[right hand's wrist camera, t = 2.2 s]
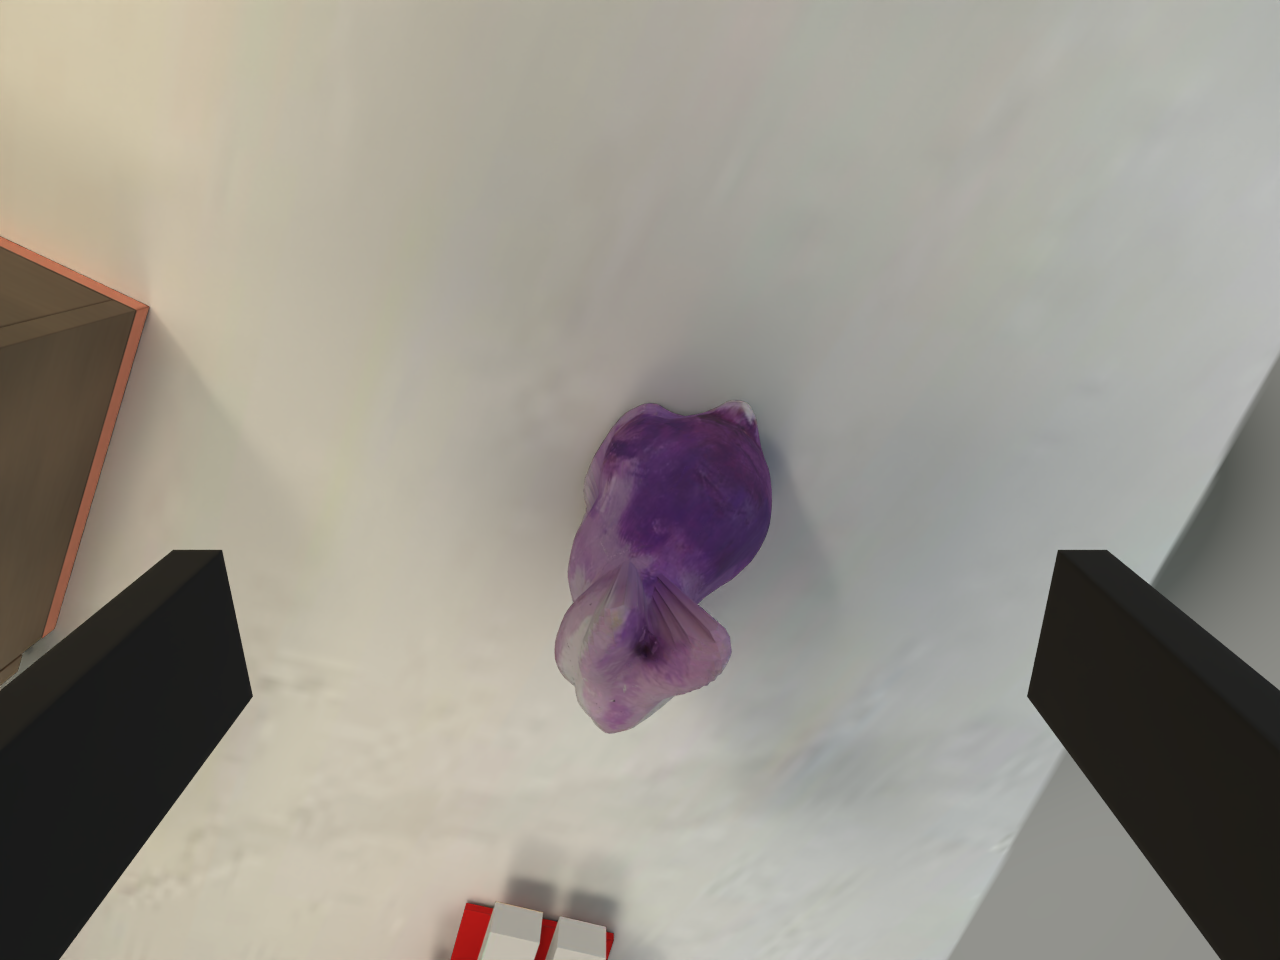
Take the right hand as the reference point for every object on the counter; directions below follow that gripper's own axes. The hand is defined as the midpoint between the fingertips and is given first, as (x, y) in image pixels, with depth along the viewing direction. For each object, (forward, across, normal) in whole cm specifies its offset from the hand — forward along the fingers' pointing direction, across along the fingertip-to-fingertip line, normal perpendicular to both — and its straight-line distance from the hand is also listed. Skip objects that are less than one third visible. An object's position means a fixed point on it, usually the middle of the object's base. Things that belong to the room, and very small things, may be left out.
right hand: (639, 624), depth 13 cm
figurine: (+24, +1, -8) cm, 26 cm away
